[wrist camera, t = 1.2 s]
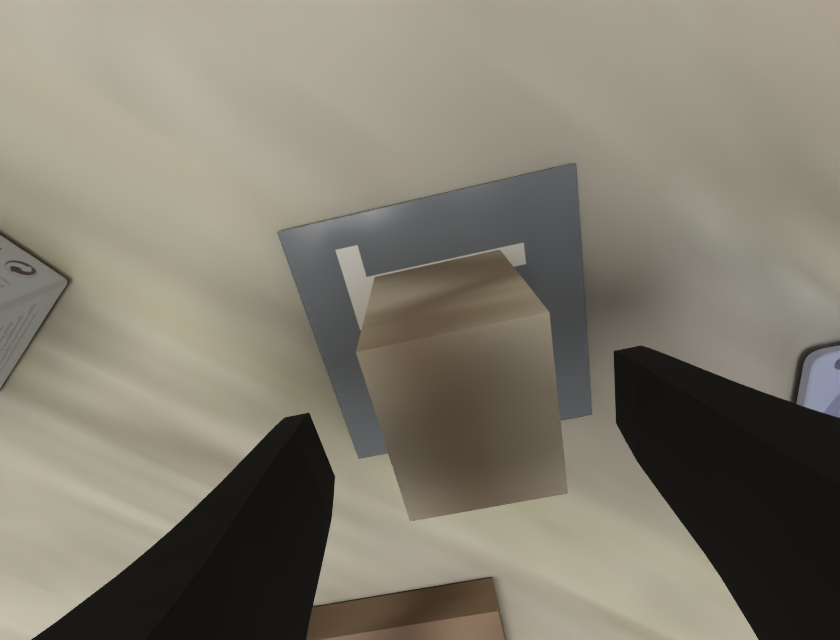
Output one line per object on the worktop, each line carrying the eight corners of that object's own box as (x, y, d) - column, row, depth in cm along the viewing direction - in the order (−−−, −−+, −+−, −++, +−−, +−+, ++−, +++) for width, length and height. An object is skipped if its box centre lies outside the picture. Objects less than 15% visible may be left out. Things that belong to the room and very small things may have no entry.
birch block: (499, 249, 13) (549, 311, 8) (518, 383, 15) (567, 492, 10) (374, 276, 13) (355, 352, 9) (410, 404, 15) (410, 521, 11)
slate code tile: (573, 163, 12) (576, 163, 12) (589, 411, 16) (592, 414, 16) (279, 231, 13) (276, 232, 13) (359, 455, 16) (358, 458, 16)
